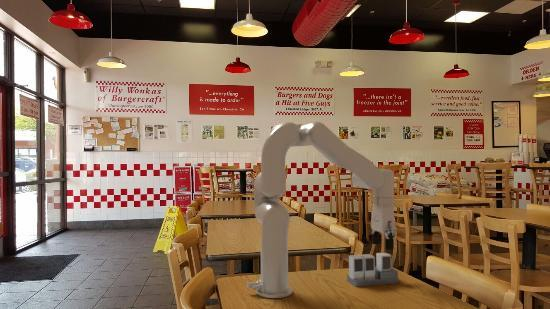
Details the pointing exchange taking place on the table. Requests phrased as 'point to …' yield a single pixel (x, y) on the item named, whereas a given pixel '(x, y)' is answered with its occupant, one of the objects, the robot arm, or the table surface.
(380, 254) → the pale grey block
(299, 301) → the table surface
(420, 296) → the table surface
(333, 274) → the table surface
